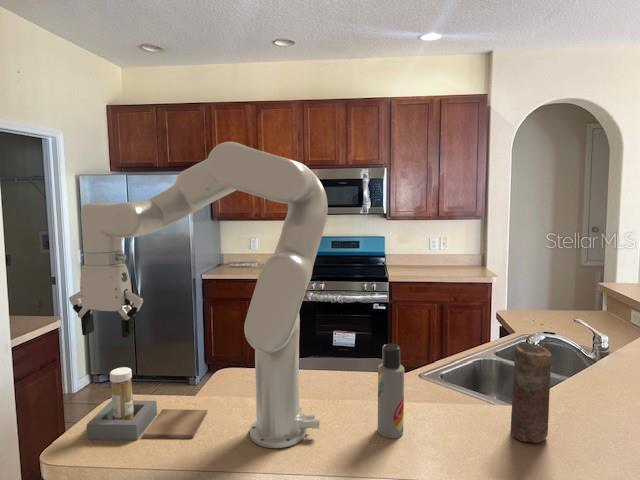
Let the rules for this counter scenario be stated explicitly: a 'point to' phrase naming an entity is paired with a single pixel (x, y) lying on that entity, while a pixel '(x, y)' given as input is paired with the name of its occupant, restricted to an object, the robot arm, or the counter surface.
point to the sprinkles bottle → (122, 393)
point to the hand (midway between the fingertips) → (107, 334)
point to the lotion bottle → (390, 393)
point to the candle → (530, 393)
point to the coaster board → (175, 424)
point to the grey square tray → (122, 422)
